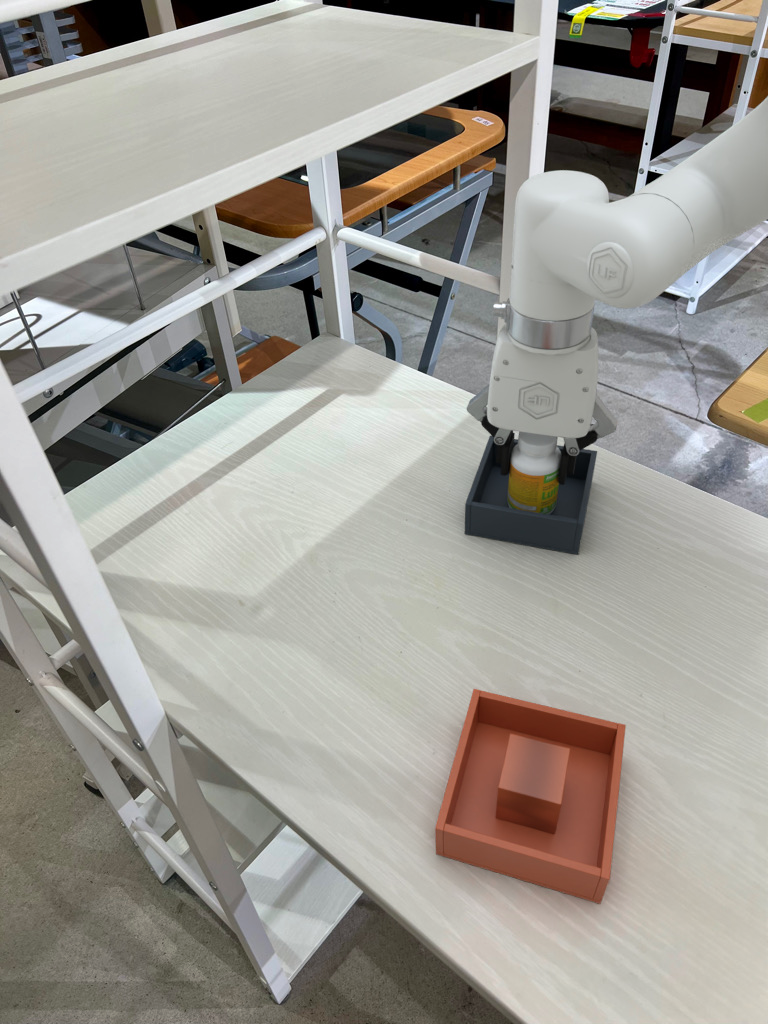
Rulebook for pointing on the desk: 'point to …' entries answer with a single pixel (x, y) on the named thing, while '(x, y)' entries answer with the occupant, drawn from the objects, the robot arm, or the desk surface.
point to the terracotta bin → (585, 805)
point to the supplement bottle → (534, 473)
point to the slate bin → (545, 531)
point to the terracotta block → (532, 783)
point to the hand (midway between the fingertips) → (534, 470)
